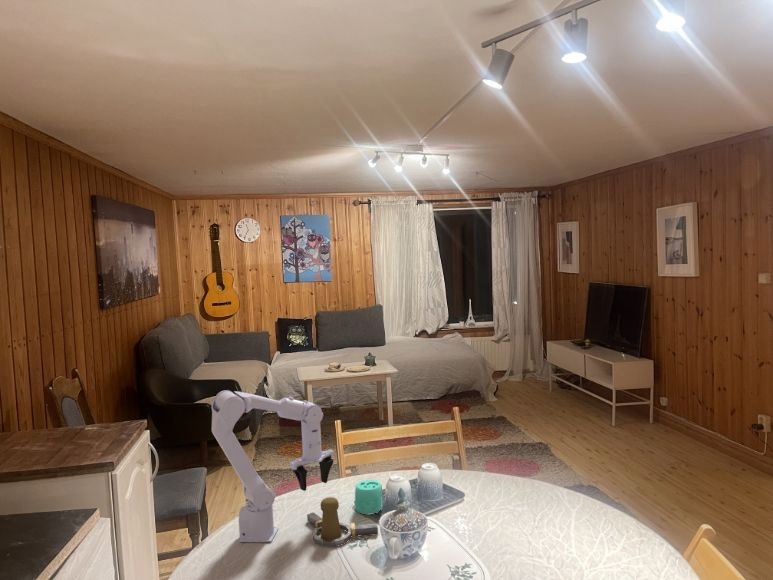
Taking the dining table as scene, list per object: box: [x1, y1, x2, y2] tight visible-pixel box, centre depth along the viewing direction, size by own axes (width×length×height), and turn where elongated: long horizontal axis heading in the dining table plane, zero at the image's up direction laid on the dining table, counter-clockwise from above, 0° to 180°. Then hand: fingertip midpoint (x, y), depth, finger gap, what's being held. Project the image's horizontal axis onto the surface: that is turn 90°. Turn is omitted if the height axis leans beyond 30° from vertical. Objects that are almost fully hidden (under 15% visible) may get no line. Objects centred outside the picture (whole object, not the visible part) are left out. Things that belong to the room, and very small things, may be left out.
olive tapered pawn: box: [320, 496, 343, 540], centre depth 161 cm, size 6×6×11 cm
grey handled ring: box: [306, 512, 379, 548], centre depth 163 cm, size 22×16×3 cm
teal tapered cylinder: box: [354, 479, 383, 515], centre depth 177 cm, size 8×8×8 cm
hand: (314, 485), depth 172 cm, fingers open, 7 cm apart
